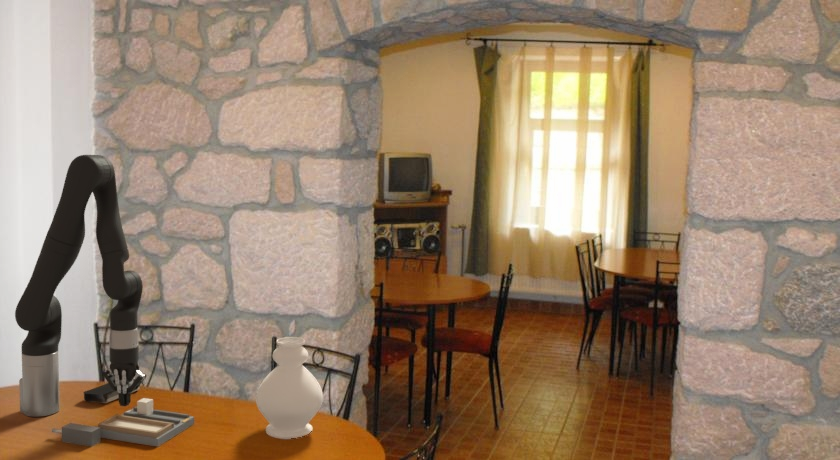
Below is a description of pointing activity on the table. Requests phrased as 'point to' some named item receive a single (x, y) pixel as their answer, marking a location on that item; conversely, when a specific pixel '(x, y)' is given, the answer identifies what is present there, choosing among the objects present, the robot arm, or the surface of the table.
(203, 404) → the table surface
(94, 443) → the grey block with bolt
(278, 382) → the decorative vase
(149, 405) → the switch tab
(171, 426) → the switch board
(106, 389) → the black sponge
